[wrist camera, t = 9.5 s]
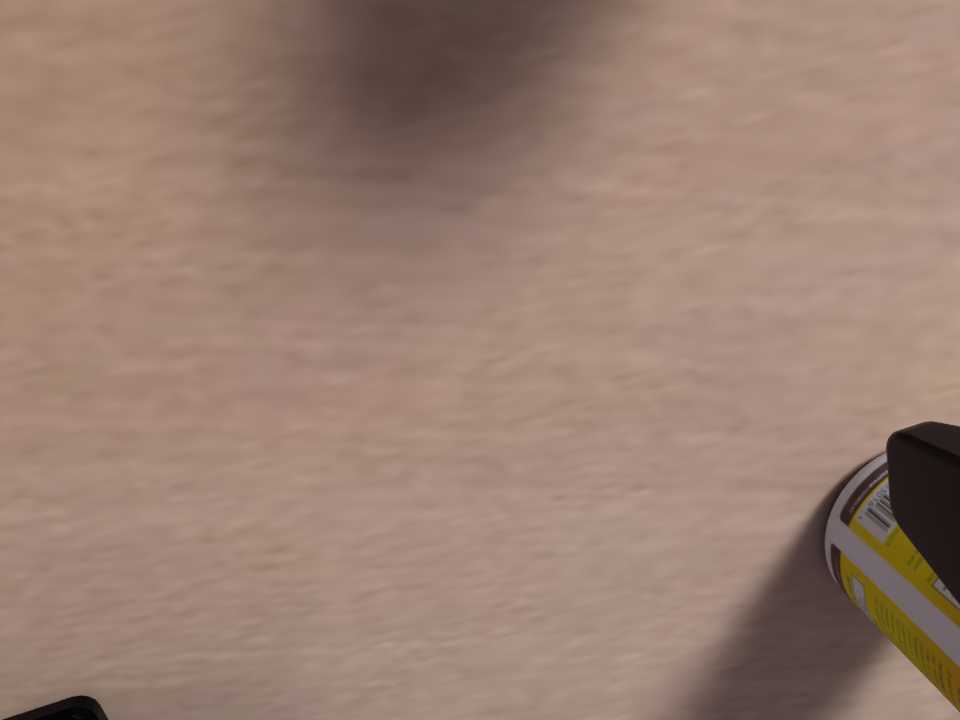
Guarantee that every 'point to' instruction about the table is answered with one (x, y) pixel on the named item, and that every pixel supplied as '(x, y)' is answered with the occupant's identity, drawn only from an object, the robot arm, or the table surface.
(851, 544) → the supplement bottle
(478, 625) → the table surface
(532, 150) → the table surface
